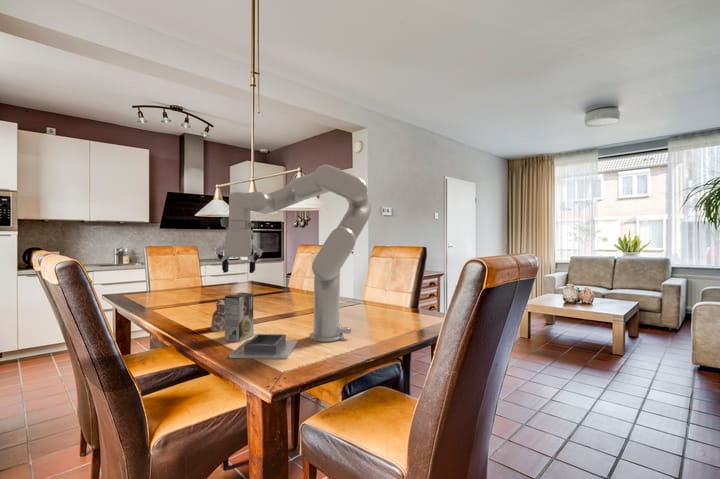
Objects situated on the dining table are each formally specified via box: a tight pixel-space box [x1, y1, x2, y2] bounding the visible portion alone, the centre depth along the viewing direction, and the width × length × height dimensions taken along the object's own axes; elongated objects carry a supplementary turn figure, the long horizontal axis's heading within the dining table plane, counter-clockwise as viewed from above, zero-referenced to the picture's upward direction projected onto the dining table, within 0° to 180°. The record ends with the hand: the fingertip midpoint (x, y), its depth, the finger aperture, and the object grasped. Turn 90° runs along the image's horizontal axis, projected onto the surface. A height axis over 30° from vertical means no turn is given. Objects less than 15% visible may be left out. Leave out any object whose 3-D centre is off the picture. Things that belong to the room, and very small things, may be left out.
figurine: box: [210, 298, 225, 333], centre depth 143 cm, size 7×7×12 cm
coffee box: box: [224, 292, 254, 343], centre depth 131 cm, size 9×6×16 cm
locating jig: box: [228, 333, 299, 360], centre depth 117 cm, size 18×16×4 cm
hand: (238, 272), depth 131 cm, fingers open, 9 cm apart
